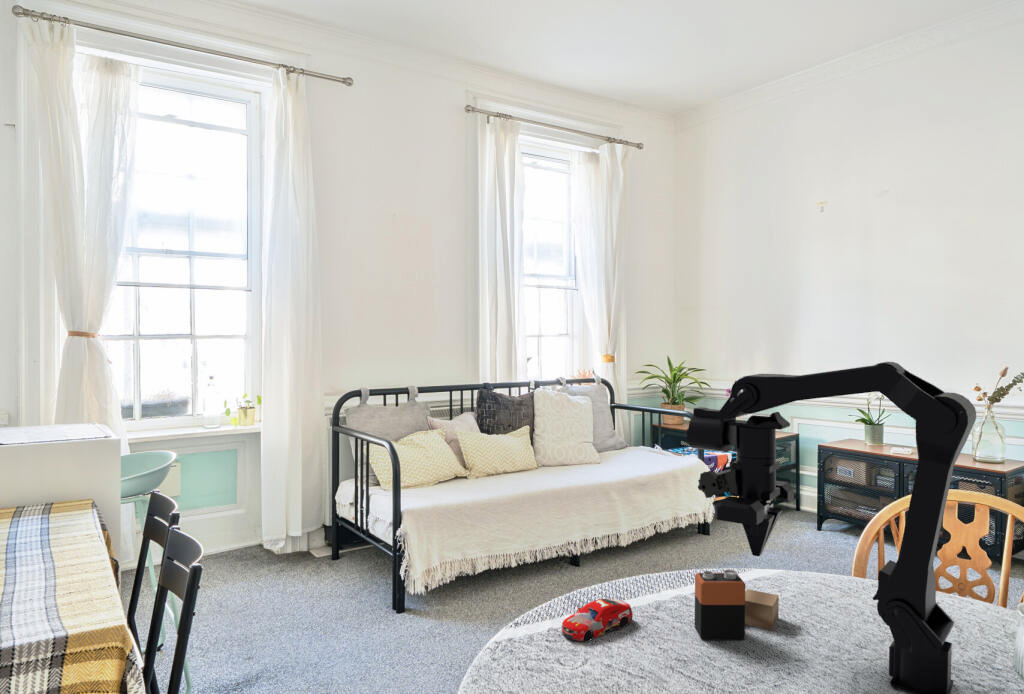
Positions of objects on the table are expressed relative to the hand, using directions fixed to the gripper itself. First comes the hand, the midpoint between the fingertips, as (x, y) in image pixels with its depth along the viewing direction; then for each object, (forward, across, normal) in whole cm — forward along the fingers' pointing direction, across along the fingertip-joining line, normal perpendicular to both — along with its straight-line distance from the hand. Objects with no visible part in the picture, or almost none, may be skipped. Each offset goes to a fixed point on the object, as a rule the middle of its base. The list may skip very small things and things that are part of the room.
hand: (756, 555), depth 106 cm
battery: (+13, +4, -5) cm, 14 cm away
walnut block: (+13, -5, -2) cm, 14 cm away
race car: (+13, +13, -21) cm, 28 cm away
